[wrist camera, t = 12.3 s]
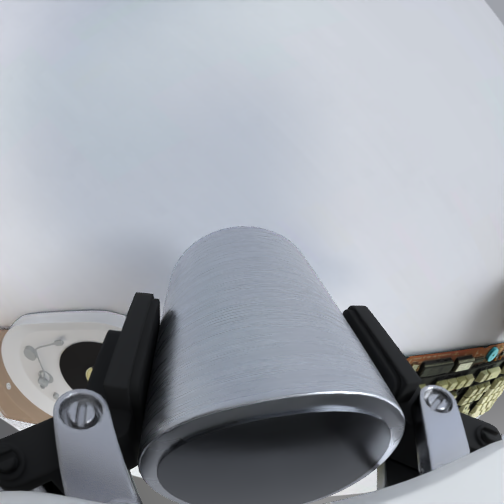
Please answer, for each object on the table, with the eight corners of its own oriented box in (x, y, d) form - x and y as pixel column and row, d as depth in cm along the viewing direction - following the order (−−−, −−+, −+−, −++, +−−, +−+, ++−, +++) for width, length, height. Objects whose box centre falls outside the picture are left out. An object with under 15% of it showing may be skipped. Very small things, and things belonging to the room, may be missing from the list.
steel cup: (172, 219, 11) (112, 388, 4) (326, 234, 12) (453, 375, 5) (168, 346, 13) (153, 512, 6) (295, 351, 14) (348, 500, 7)
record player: (-55, 333, 14) (165, 331, 16) (-38, 313, 17) (169, 301, 19) (8, 427, 18) (201, 442, 20) (17, 406, 21) (200, 413, 23)
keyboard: (200, 450, 25) (201, 470, 23) (218, 345, 20) (220, 371, 18) (485, 407, 34) (492, 416, 32) (532, 335, 29) (542, 344, 26)
